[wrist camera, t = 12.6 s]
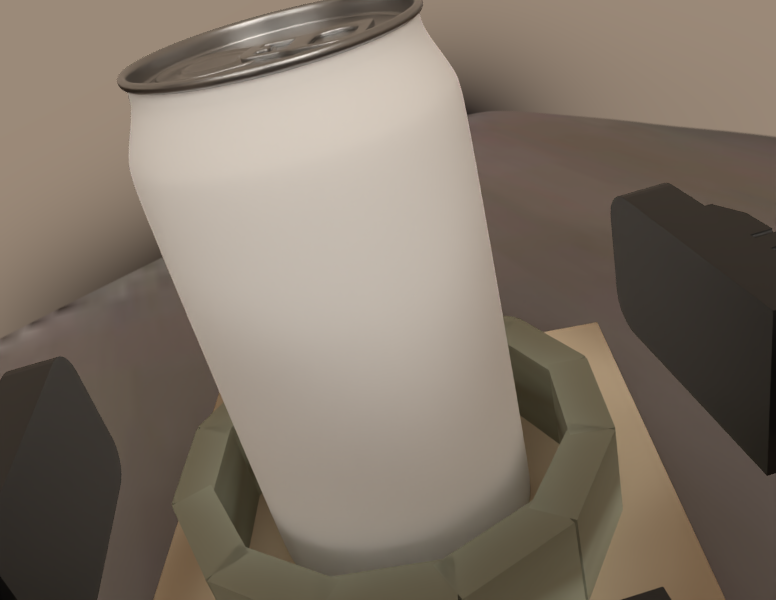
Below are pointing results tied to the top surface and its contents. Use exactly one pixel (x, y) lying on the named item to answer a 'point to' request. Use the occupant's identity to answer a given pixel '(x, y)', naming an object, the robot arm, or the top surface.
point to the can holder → (500, 542)
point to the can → (337, 274)
